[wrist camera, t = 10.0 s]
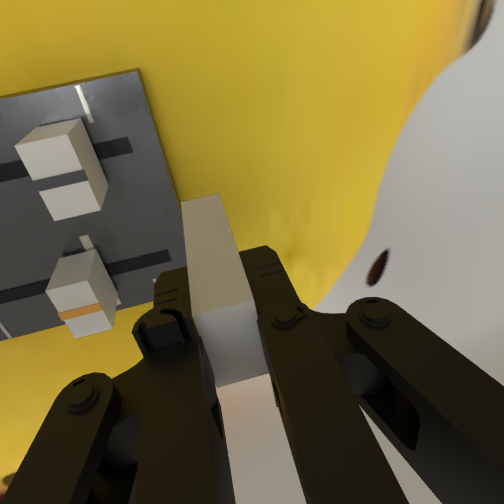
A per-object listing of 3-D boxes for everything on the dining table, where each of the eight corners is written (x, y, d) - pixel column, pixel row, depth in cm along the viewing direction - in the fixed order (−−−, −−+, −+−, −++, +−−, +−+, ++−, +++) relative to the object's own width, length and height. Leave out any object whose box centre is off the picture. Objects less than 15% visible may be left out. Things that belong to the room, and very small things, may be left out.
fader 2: (84, 303, 33) (74, 340, 29) (58, 258, 30) (43, 292, 26) (118, 294, 33) (113, 329, 29) (96, 249, 30) (87, 281, 26)
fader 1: (67, 194, 27) (53, 222, 23) (35, 127, 24) (12, 146, 21) (109, 185, 28) (101, 211, 24) (81, 117, 25) (67, 134, 21)
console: (-23, 331, 35) (-35, 350, 33) (-187, 134, 24) (-219, 144, 22) (201, 273, 37) (203, 288, 35) (138, 67, 26) (136, 71, 24)
